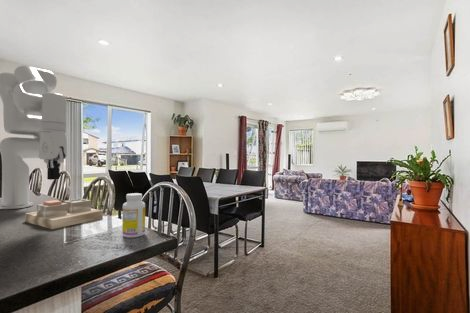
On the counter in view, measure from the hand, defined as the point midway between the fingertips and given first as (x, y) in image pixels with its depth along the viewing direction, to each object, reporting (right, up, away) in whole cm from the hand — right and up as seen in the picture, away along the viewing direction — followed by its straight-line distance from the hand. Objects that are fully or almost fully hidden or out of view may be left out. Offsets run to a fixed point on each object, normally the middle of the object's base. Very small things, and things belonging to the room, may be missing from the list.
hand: (53, 179), depth 94 cm
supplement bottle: (+34, -17, -12) cm, 39 cm away
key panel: (+2, -16, +4) cm, 16 cm away
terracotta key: (-1, -11, 0) cm, 11 cm away
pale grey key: (+4, -13, +8) cm, 15 cm away
